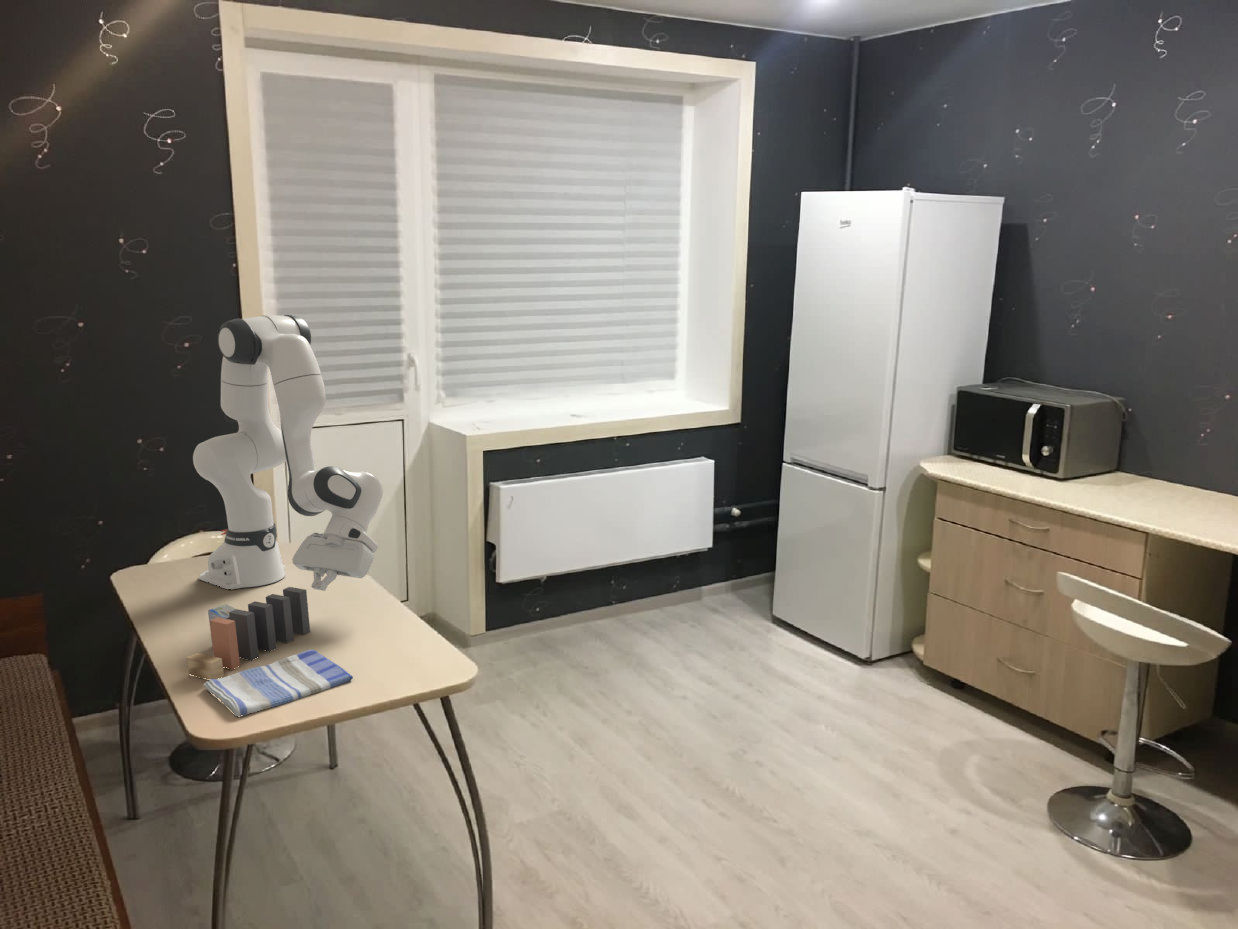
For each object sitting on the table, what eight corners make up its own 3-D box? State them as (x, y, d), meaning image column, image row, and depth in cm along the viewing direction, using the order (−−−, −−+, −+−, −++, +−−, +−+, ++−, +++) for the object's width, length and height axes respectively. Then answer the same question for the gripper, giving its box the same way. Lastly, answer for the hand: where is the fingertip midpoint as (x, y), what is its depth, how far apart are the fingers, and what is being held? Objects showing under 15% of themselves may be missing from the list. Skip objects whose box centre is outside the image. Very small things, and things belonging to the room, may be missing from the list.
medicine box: (248, 650, 206) (244, 612, 205) (228, 656, 203) (223, 618, 201) (231, 640, 212) (227, 603, 210) (211, 646, 209) (207, 609, 207)
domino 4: (270, 639, 212) (265, 596, 210) (276, 636, 213) (272, 593, 211) (287, 643, 210) (282, 600, 207) (293, 640, 211) (289, 597, 209)
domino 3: (252, 648, 207) (247, 604, 205) (259, 644, 209) (255, 601, 207) (269, 652, 205) (265, 607, 203) (276, 648, 207) (272, 604, 205)
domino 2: (234, 657, 203) (229, 612, 201) (241, 653, 205) (236, 609, 203) (251, 661, 201) (246, 615, 199) (258, 657, 203) (253, 612, 200)
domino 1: (214, 666, 199) (209, 620, 196) (222, 662, 200) (217, 617, 198) (232, 670, 196) (227, 624, 194) (240, 666, 198) (234, 620, 196)
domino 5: (286, 631, 216) (282, 589, 214) (293, 628, 218) (289, 586, 216) (303, 635, 214) (299, 592, 212) (310, 632, 216) (306, 589, 213)
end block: (189, 675, 194) (186, 657, 193) (199, 671, 196) (197, 652, 195) (213, 682, 191) (211, 663, 190) (223, 677, 193) (221, 658, 192)
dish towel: (202, 692, 188) (200, 678, 187) (317, 657, 203) (316, 645, 202) (234, 723, 175) (232, 708, 175) (354, 684, 190) (353, 670, 190)
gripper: (302, 525, 228) (275, 577, 222) (369, 533, 219) (344, 588, 213) (317, 538, 233) (291, 589, 227) (384, 547, 224) (359, 600, 218)
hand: (317, 589), depth 220 cm, fingers closed
